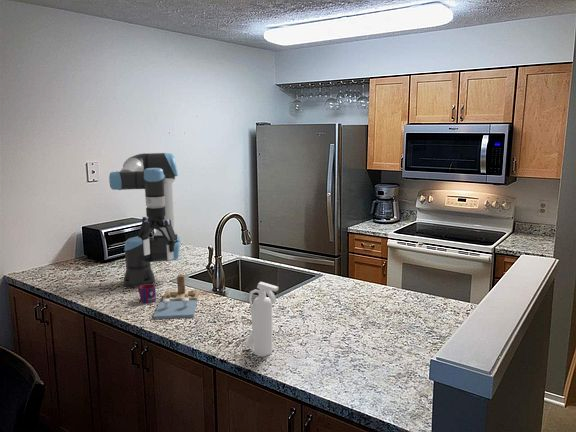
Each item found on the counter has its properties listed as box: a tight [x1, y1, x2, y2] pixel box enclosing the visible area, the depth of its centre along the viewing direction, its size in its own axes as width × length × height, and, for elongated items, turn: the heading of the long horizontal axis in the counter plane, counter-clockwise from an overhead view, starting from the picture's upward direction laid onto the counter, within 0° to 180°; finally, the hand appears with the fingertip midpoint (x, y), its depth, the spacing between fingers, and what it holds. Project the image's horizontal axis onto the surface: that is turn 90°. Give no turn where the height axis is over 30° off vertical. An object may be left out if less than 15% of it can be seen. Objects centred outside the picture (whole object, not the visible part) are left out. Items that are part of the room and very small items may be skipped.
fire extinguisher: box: [245, 281, 279, 357], centre depth 157 cm, size 7×12×25 cm, turn 61°
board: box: [153, 298, 198, 320], centre depth 195 cm, size 16×16×5 cm
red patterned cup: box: [137, 283, 157, 305], centre depth 207 cm, size 7×10×7 cm
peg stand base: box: [162, 274, 200, 301], centre depth 209 cm, size 15×11×10 cm
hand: (158, 257), depth 191 cm, fingers open, 13 cm apart
